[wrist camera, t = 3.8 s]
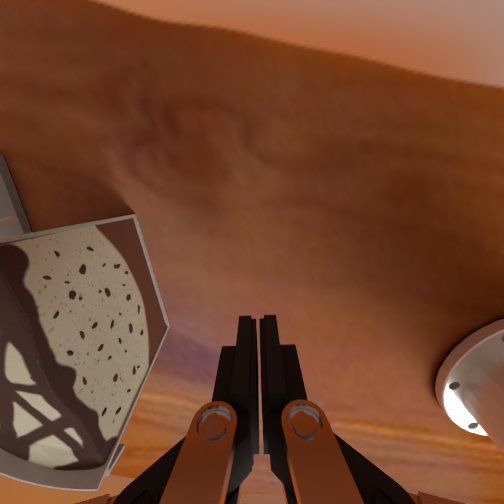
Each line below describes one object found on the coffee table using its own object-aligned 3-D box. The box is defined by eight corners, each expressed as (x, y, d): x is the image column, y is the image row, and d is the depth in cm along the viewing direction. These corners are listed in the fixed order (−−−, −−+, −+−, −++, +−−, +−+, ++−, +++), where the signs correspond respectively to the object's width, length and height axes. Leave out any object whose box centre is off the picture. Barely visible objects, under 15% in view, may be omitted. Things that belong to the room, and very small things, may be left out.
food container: (42, 203, 16) (-254, 257, 7) (129, 191, 16) (-57, 230, 6) (104, 348, 20) (-26, 505, 11) (174, 341, 20) (101, 498, 11)
